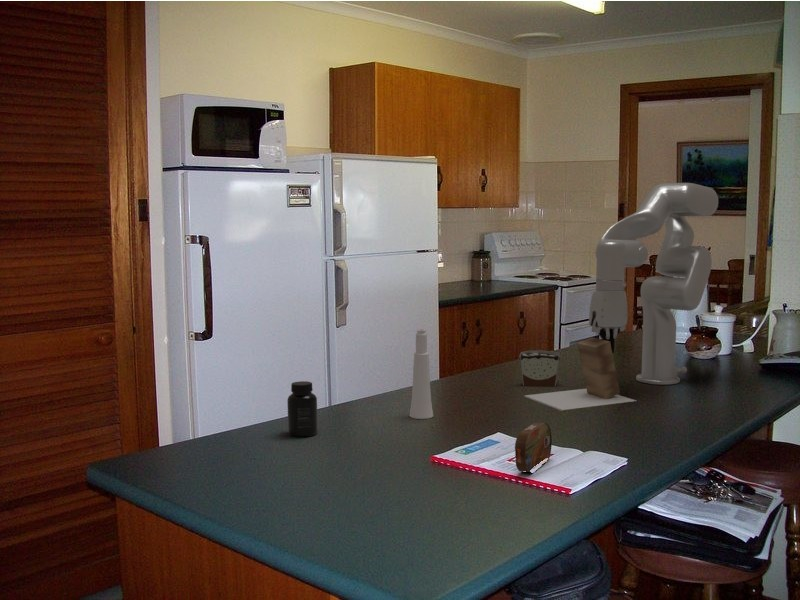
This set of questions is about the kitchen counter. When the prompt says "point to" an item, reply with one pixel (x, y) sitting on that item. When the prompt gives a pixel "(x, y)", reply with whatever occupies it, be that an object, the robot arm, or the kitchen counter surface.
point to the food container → (539, 368)
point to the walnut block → (598, 367)
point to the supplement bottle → (302, 410)
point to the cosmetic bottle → (421, 380)
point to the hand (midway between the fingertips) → (607, 352)
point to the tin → (533, 446)
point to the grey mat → (575, 399)
